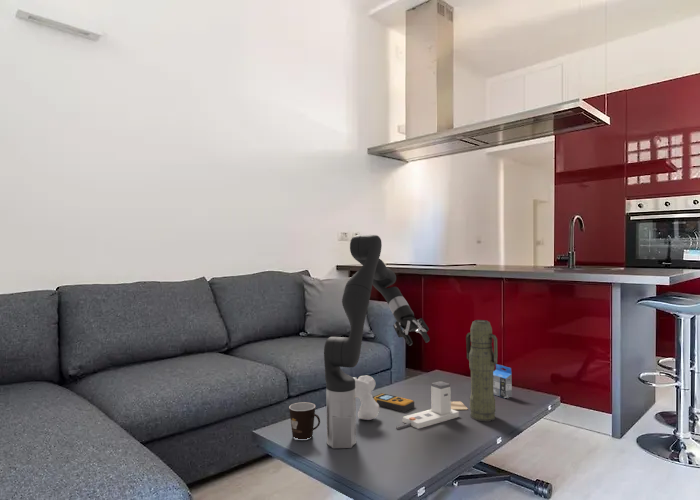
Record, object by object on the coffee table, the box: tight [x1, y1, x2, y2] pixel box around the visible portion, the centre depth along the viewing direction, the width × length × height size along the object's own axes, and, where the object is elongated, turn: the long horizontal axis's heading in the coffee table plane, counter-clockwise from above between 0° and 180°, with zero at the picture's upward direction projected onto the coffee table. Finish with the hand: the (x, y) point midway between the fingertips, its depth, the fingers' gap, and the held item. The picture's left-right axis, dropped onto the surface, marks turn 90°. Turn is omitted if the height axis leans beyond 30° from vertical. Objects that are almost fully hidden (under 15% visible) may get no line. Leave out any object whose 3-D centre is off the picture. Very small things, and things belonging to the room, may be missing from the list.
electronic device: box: [372, 392, 415, 413], centre depth 177 cm, size 8×16×3 cm, turn 50°
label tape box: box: [493, 363, 513, 399], centre depth 188 cm, size 9×4×12 cm, turn 28°
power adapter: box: [430, 380, 452, 416], centre depth 164 cm, size 5×5×12 cm
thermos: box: [465, 319, 499, 422], centre depth 163 cm, size 9×12×35 cm
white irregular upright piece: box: [352, 374, 380, 421], centre depth 162 cm, size 10×11×15 cm
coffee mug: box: [288, 401, 321, 439], centre depth 145 cm, size 12×9×10 cm
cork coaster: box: [451, 400, 469, 411], centre depth 175 cm, size 9×9×1 cm
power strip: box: [395, 408, 460, 430], centre depth 159 cm, size 8×26×2 cm, turn 124°
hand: (419, 343), depth 174 cm, fingers open, 8 cm apart
